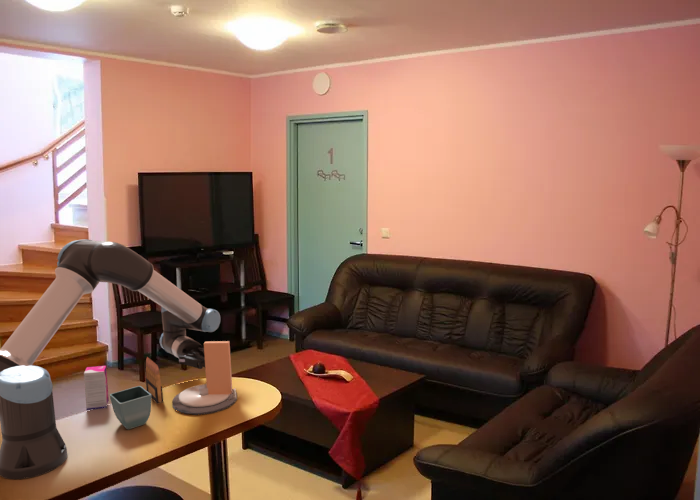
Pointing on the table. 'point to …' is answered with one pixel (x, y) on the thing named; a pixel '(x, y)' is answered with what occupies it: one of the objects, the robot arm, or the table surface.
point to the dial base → (204, 410)
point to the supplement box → (96, 387)
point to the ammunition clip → (153, 381)
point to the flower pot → (132, 406)
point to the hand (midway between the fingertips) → (221, 368)
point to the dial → (212, 377)
